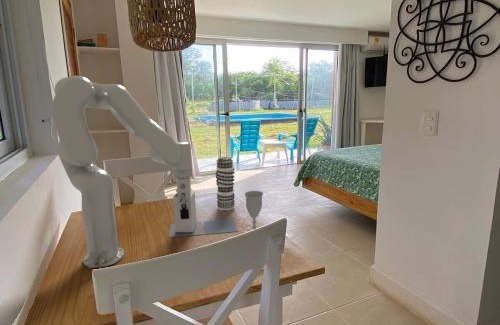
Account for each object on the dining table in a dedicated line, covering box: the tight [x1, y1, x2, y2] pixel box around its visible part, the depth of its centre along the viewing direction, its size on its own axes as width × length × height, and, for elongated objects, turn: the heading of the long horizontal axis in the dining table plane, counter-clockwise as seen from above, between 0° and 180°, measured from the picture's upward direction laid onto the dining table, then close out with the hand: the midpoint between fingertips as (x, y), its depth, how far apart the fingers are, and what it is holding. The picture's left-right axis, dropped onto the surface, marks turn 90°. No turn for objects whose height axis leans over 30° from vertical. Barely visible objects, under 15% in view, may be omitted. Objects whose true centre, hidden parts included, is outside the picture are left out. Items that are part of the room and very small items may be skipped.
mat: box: [203, 218, 238, 235], centre depth 130 cm, size 13×13×1 cm
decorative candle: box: [214, 156, 236, 211], centre depth 150 cm, size 9×9×25 cm
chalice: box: [244, 190, 264, 230], centre depth 117 cm, size 7×7×18 cm
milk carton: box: [172, 188, 197, 232], centre depth 126 cm, size 7×7×19 cm
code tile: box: [168, 221, 203, 239], centre depth 128 cm, size 13×13×1 cm
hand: (185, 214), depth 126 cm, fingers closed on milk carton, 8 cm apart
